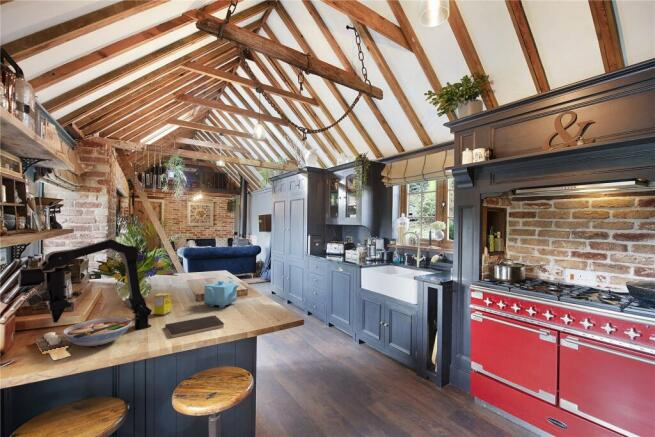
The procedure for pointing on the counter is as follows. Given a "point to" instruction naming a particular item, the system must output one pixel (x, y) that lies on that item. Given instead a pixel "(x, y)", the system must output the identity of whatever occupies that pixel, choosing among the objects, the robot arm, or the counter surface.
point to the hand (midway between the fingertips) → (55, 322)
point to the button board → (45, 347)
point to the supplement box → (162, 304)
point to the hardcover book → (193, 326)
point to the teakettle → (220, 293)
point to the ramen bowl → (97, 331)
